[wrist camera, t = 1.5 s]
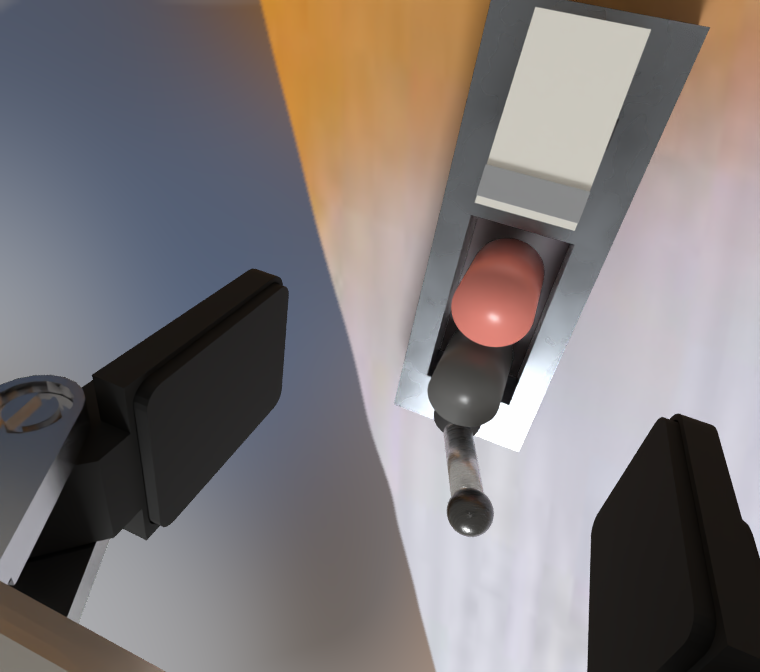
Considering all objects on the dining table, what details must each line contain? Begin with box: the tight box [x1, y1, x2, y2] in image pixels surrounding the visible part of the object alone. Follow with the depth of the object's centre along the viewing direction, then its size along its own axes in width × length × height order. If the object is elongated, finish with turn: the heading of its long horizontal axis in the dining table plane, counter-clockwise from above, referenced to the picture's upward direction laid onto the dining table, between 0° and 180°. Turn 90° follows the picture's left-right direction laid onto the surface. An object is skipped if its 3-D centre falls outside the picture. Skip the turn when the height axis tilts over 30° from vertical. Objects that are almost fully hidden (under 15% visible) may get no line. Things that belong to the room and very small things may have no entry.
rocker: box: [475, 7, 651, 231], centre depth 20 cm, size 7×4×2 cm, turn 171°
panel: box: [394, 0, 710, 452], centre depth 26 cm, size 22×8×4 cm, turn 171°
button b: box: [427, 329, 513, 427], centre depth 27 cm, size 4×4×4 cm
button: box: [451, 238, 545, 347], centre depth 24 cm, size 4×4×4 cm
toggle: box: [444, 422, 494, 537], centre depth 27 cm, size 2×2×7 cm
